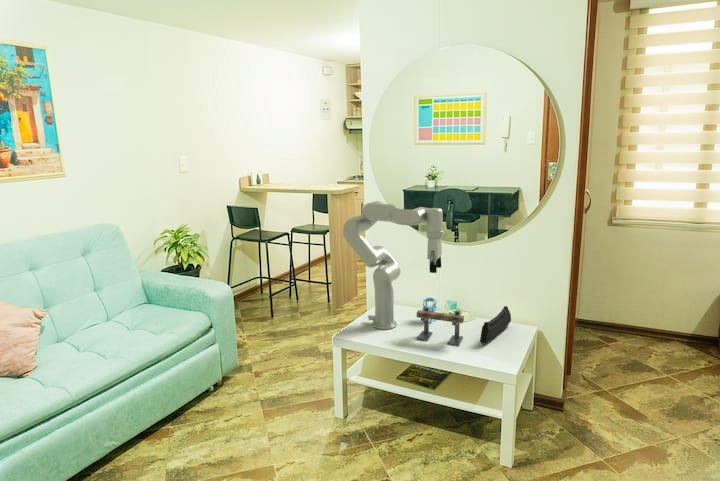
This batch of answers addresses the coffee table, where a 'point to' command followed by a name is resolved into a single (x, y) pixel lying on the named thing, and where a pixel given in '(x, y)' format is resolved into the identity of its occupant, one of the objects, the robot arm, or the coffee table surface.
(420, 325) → the coffee table surface
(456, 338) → the hook stand
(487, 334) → the magazine
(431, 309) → the chair
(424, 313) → the rail
